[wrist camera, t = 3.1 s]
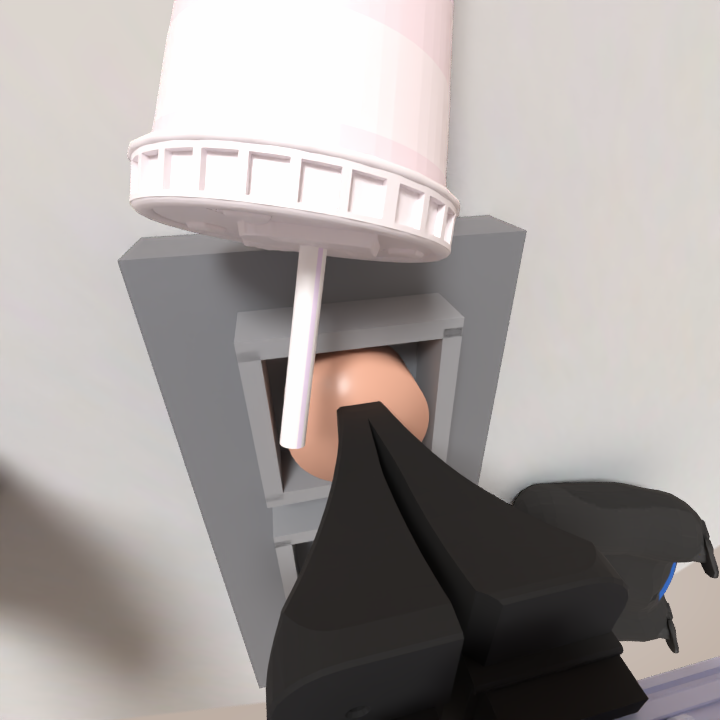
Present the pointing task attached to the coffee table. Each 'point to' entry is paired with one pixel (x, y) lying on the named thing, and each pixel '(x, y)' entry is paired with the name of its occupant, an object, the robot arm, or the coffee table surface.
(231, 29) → the smoothie
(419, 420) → the peach button
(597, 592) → the robot arm
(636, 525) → the gaming controller
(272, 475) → the button panel
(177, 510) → the coffee table surface
